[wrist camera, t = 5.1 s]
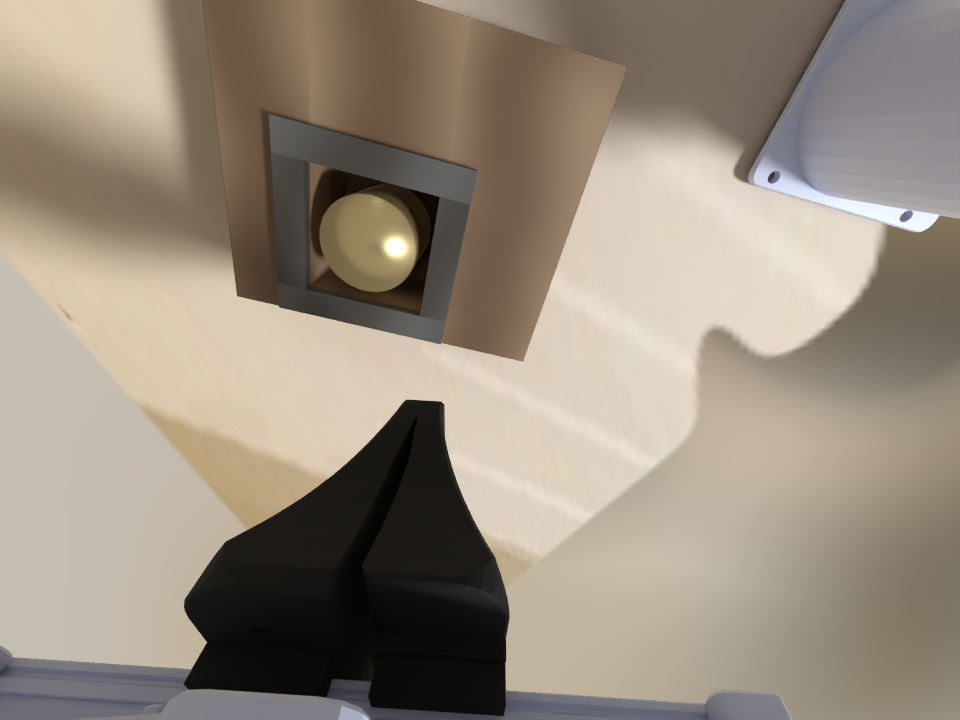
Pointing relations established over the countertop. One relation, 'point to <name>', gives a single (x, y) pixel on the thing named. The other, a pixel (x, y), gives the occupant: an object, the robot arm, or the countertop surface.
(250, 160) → the socket block
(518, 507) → the countertop surface
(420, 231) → the peg
